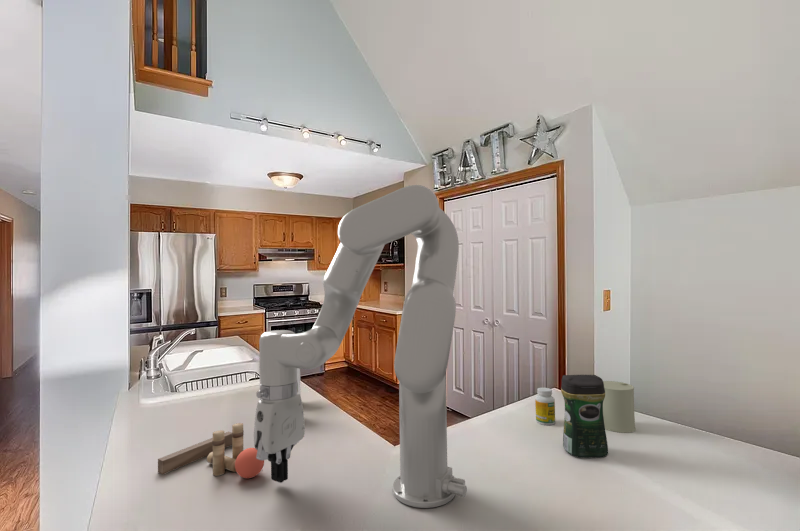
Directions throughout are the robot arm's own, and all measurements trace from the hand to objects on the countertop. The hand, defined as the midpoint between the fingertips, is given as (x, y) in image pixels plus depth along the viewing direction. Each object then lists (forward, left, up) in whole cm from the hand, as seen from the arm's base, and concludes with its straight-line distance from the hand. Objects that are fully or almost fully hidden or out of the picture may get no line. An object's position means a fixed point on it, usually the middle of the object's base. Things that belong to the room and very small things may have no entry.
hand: (279, 479), depth 82 cm
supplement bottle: (-41, -63, -2) cm, 75 cm away
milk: (+37, -39, -2) cm, 54 cm away
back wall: (+28, 0, -2) cm, 28 cm away
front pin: (+14, 0, 0) cm, 14 cm away
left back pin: (+16, +3, -2) cm, 17 cm away
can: (-59, -69, -2) cm, 91 cm away
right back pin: (+16, -2, -2) cm, 17 cm away
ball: (+9, 0, +2) cm, 9 cm away
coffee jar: (-53, -47, -2) cm, 71 cm away
